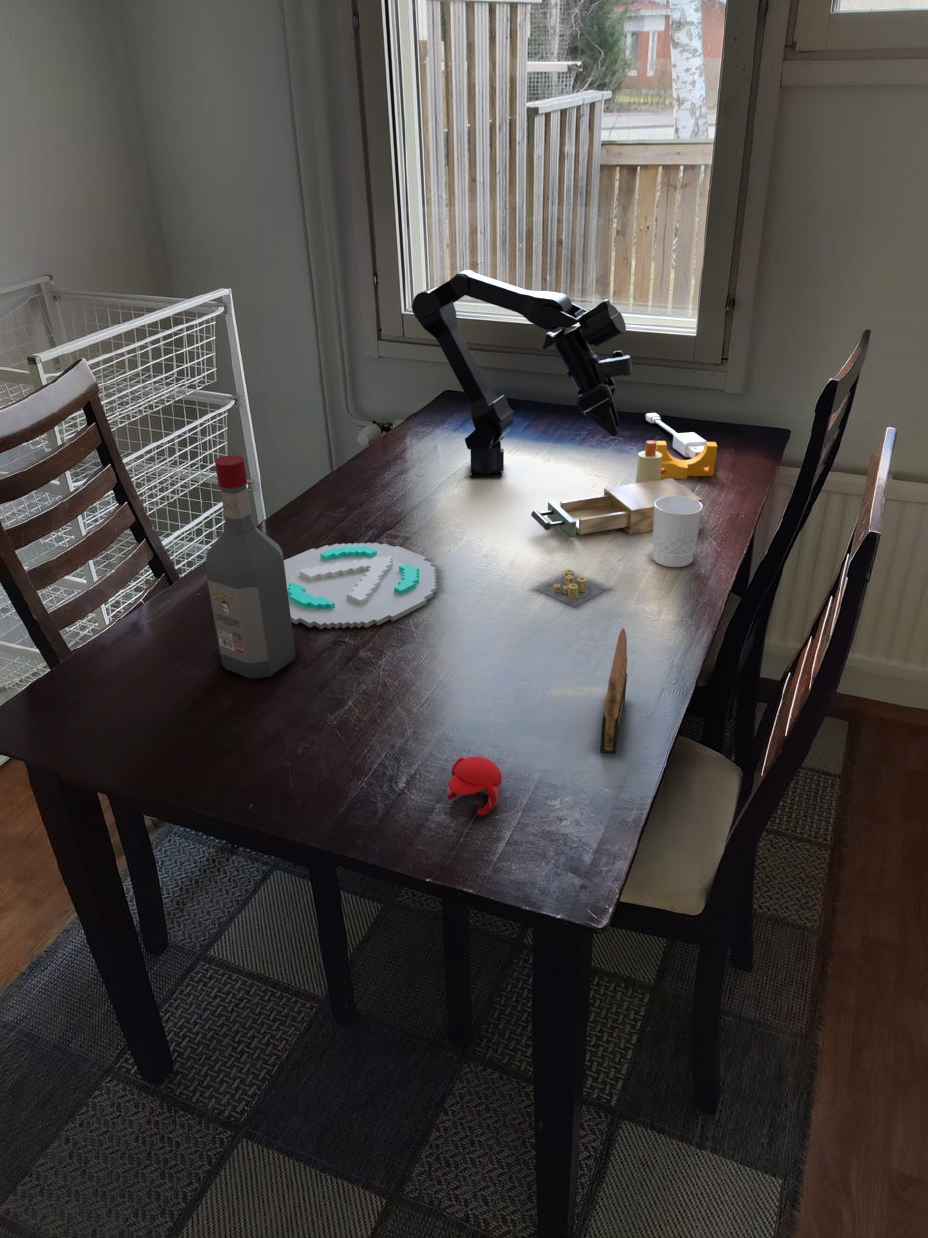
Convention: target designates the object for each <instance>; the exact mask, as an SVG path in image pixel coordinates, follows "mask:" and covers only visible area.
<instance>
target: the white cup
mask: <svg viewBox="0 0 928 1238" xmlns="http://www.w3.org/2000/svg"><path fill="white" fill-rule="evenodd" d="M703 509H704V504H702V503H700V502H699V501H697V500H695V499H693V498H690V497H685V496H665V497H661V498H659V499H657V500H656V501H655V502H654V518H653V530H652V560H653V561H654V562H655V563H656V564H658V565H661V566H664V567H669V568H683V567H687V566H689V565H690V564H692V563H693V561H694V554H695V548H696V546H697V541H698V538H699V532H700V526H701V520H702V515H703Z"/></svg>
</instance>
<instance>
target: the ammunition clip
mask: <svg viewBox="0 0 928 1238" xmlns="http://www.w3.org/2000/svg"><path fill="white" fill-rule="evenodd" d="M615 646H616V647H615V652H614V655H613V660H612V665H611V669H610V674H609V678H608V685H607V691H606V694H605V699H604V701H605V702H604V710H603V714H602V722H601V734H600V745H599V746H600V749H599V751H600V752H601V753H609V754H615V755H616V751H617V747H618V742H619V737H620V731H621V725H622V722H623V721H622V720H623V715H624V710H625V705H626V695H627V694H626V693H627V681H628V673H627V670H628V669H627V668H628V654H627V653H628V652H627V651H628V648H627V647H628V638H627V633H626V630H625V628H621V630H620V632H619V634H618V638H617V642H616V645H615Z"/></svg>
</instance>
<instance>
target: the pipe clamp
mask: <svg viewBox="0 0 928 1238" xmlns="http://www.w3.org/2000/svg"><path fill="white" fill-rule="evenodd" d="M655 441H656V442H657V443H656V451H657V452H660V453H661V454H662V462H661V473H660V479H668V478H672V479H673V480H675V479H679V480H681V479H682V480H687V479H688V477H714V474H715V466H716V459H717V453H718V452H717V450H718V445H717V442H716V441H707V442H706V444H705V447H704V449H703V451H702V452H701V453H700V454H699V455H698V456H696V457H695V458H692V457H691V458H690V459H679V458H677V457H674V456H673V455H672V454H671V453H670V452H669V450H668V446H667V445H668V444H667V441H666V440H655Z"/></svg>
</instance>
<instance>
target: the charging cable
mask: <svg viewBox="0 0 928 1238" xmlns="http://www.w3.org/2000/svg"><path fill="white" fill-rule="evenodd" d="M645 420H646V421H647V422H648V423H649V424H657V425H659V427H661V428H663V430H666V431H667V432H668V433H669V434H671V435H672V436H673V438H672V448H673V449H674V450H676V451H677V452H678V453H679V454H681V455H682V457H684V458H691V459H692V458H695V457H696V456H698V455H699V454H700V453H701V452H702V451H703V449H704V447H705V444H706V442H708V441H707V440H706V439H704V438H703V437H701V435H698V434H697V433H696V432H694V431H691V432H679V433H678V432H676V430H674V429H673V428H671V427H670V426H669V425H667V424H666V423H665V422H663V421H662V419H661V416H660V415H659V413H656V412H650V413H646V414H645Z"/></svg>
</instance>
